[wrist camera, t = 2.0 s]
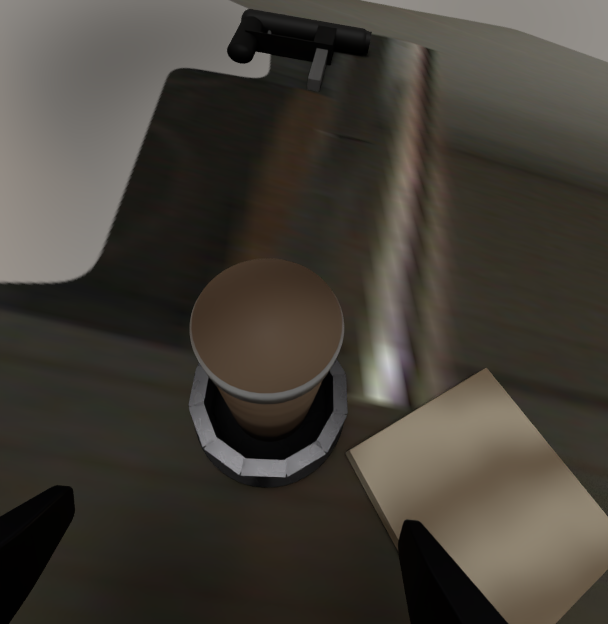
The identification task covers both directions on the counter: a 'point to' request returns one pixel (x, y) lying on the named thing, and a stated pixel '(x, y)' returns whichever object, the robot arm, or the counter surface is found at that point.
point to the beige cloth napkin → (489, 499)
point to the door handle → (295, 40)
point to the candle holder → (268, 455)
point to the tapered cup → (267, 342)
